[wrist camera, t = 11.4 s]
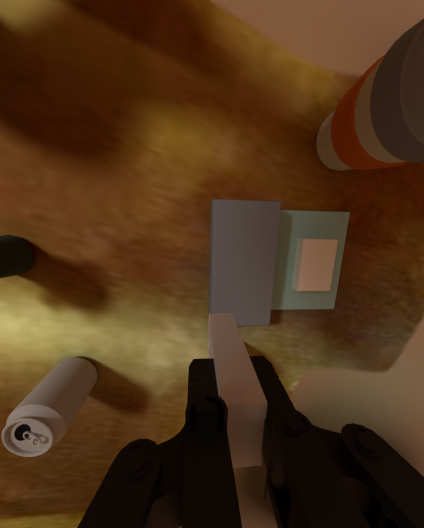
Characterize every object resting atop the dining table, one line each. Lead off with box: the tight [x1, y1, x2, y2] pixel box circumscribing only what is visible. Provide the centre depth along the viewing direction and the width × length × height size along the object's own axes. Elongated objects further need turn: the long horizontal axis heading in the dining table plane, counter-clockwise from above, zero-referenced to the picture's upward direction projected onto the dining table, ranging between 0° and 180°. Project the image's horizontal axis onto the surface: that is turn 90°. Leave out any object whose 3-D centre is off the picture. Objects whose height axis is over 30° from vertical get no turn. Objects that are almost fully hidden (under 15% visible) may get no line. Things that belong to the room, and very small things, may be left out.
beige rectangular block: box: [292, 238, 338, 291], centre depth 35 cm, size 9×6×2 cm, turn 179°
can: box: [2, 357, 97, 457], centre depth 32 cm, size 8×8×12 cm
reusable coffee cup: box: [316, 19, 424, 171], centre depth 25 cm, size 12×13×15 cm
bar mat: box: [271, 210, 350, 310], centre depth 36 cm, size 18×14×1 cm
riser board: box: [209, 199, 281, 326], centre depth 33 cm, size 20×10×4 cm, turn 179°
